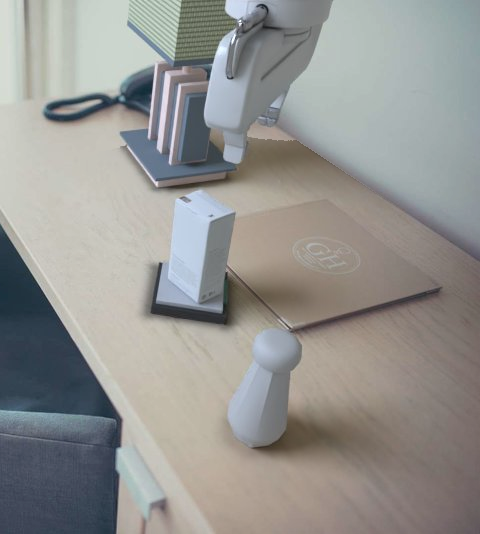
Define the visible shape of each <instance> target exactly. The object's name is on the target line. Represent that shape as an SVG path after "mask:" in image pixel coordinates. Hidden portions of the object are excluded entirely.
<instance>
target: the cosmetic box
mask: <svg viewBox="0 0 480 534" xmlns="http://www.w3.org/2000/svg"><path fill="white" fill-rule="evenodd" d="M236 214H237V211H236V210H233V209H232V208H230V207H229V206H228V205H226V204H224V203H223V202H221V201H220V200H218V199H216V198H215V197H213V196H212V195H210V194H208V193H207V192H205V191H204V190H202V189H198V190H196V191H192V192H190V193H188V194H185V195H183V196H180V197H176V199H175V200H174V211H173V221H172V230H171V243H170V253H169V260H168V262H169V271H168V279H169V280H170V281H171V282H172V283H174V284H175V285H176V286H177V287H179V288H180V289H181V290H182V291H183V292H185V293H186V294H187V295H188V296H189V297H191V298H192V299H193V300H194V301H196V302H197V303H198V304H199V303H202V302H204V301H207V300H209V299H211V298H213V297H215V296H217V295H219V294H221V293H222V290H223V284H224V279H225V273H226V272H227V266H228V260H229V255H230V249H231V243H232V237H233V231H234V224H235V221H236Z"/></svg>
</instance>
